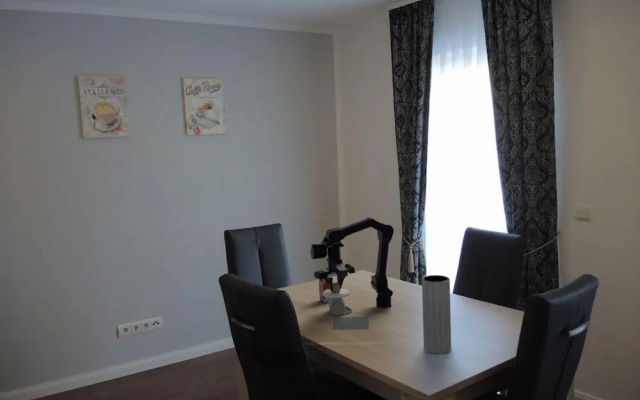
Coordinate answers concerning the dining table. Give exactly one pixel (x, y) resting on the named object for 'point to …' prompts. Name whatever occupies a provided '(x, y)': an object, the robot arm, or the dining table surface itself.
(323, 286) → the soda can
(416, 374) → the dining table surface
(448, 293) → the vase
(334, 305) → the ceramic mug
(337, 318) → the mat
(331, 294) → the lid
